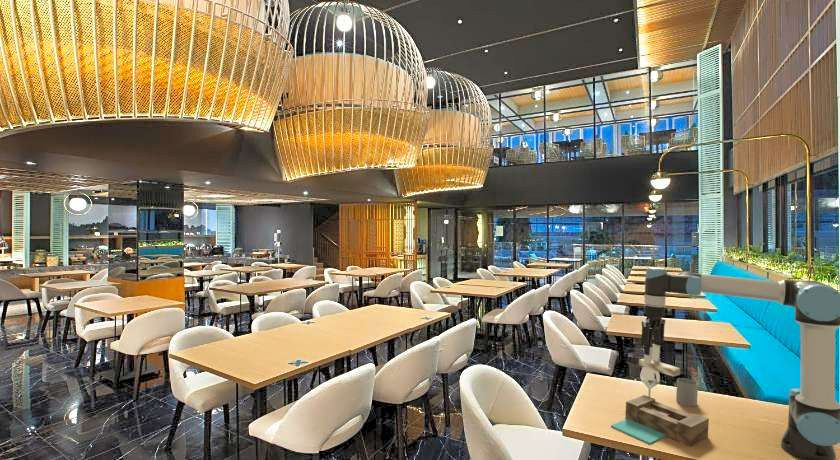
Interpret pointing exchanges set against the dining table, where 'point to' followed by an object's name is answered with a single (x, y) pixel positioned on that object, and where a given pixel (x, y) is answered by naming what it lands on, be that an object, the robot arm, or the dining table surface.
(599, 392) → the dining table surface
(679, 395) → the cup
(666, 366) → the tile
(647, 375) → the wineglass
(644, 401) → the cradle
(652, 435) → the mat
